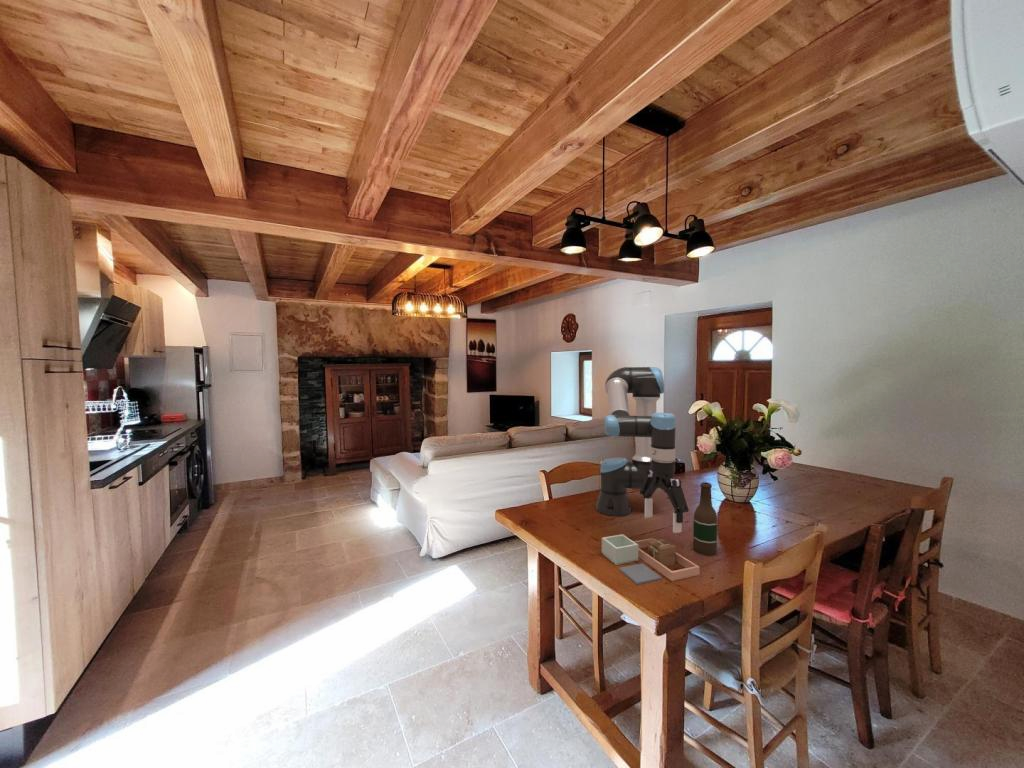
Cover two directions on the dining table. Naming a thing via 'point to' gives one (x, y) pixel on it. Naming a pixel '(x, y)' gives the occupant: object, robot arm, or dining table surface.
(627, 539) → the mint green open box
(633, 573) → the slate coaster
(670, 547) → the letter cube
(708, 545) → the beer bottle
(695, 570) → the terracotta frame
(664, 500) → the dining table surface
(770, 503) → the dining table surface
